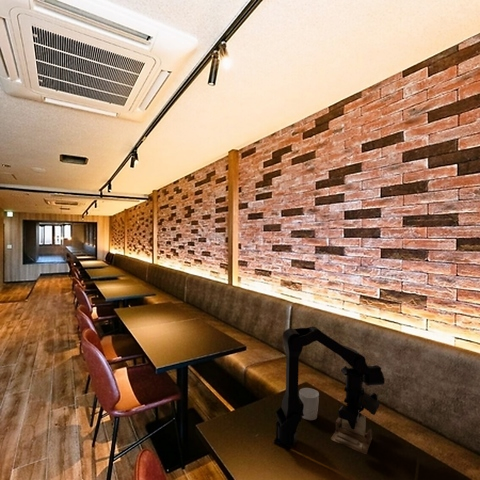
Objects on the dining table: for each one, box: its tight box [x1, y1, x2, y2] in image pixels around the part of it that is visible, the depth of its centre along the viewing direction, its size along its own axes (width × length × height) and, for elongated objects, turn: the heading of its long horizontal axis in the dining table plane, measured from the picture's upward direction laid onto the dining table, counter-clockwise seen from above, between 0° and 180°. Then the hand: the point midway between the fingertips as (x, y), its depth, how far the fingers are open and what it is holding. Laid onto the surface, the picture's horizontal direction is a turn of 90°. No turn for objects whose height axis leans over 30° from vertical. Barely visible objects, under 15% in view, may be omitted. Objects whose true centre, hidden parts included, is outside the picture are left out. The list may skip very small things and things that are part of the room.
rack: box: [330, 416, 373, 455], centre depth 104 cm, size 12×10×4 cm
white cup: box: [298, 387, 320, 421], centre depth 118 cm, size 8×8×10 cm
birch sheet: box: [341, 414, 367, 437], centre depth 106 cm, size 8×2×8 cm, turn 54°
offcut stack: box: [335, 432, 363, 452], centre depth 101 cm, size 9×3×2 cm, turn 54°
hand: (353, 427), depth 106 cm, fingers closed on birch sheet, 1 cm apart
